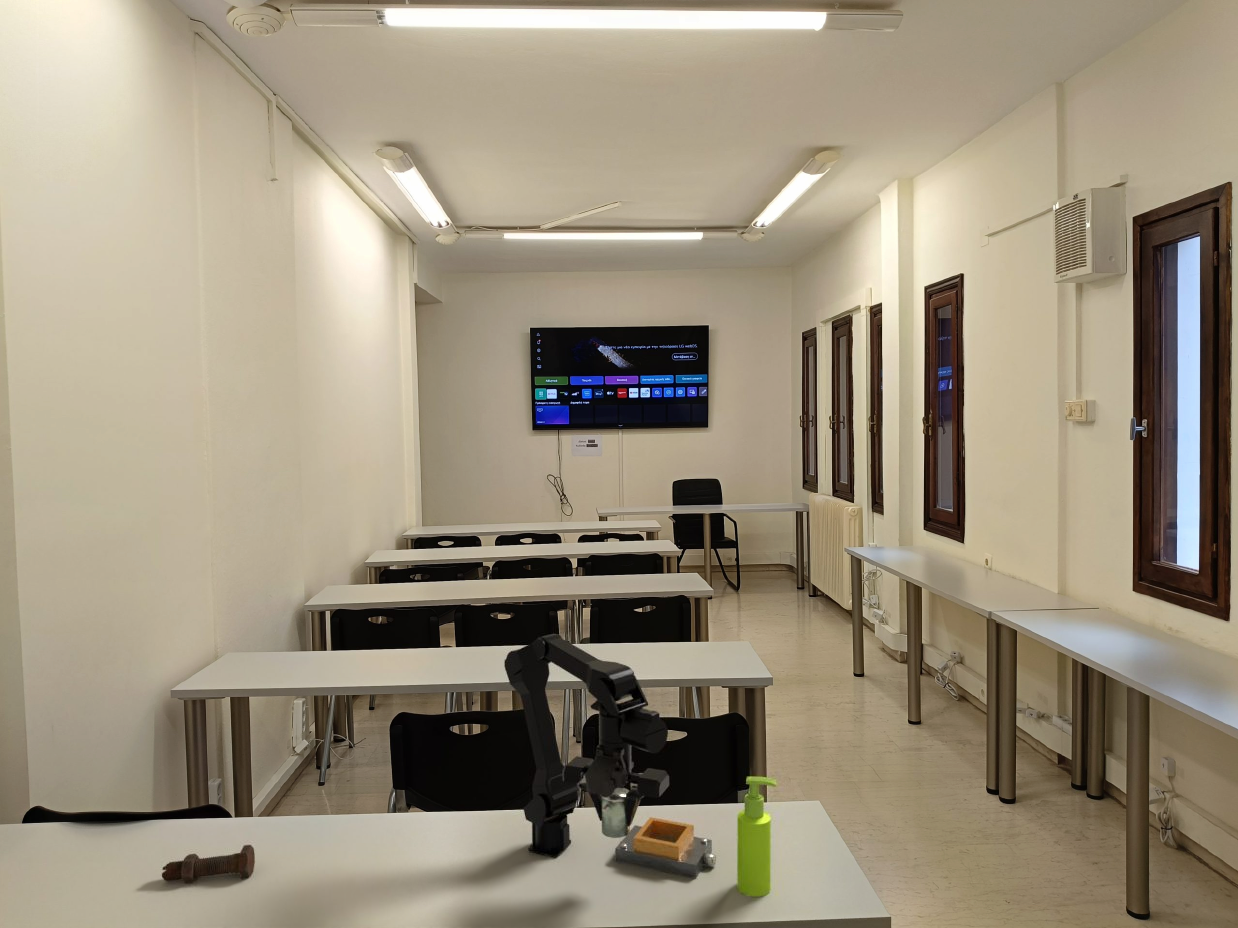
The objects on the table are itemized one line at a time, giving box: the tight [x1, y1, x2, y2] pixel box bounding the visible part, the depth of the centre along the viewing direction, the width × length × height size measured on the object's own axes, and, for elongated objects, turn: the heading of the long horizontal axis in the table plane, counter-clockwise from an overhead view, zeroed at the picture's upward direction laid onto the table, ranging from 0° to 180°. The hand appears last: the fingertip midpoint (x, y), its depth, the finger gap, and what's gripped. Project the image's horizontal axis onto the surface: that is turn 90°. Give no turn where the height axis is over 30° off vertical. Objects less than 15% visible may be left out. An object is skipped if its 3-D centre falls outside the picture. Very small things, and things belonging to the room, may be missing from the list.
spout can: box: [601, 787, 631, 839], centre depth 152 cm, size 5×8×7 cm, turn 158°
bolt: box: [161, 844, 256, 885], centre depth 156 cm, size 6×5×15 cm
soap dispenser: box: [736, 776, 778, 898], centre depth 151 cm, size 6×7×20 cm
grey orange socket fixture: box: [614, 816, 717, 879], centre depth 162 cm, size 18×10×5 cm, turn 67°
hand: (615, 822), depth 153 cm, fingers closed on spout can, 5 cm apart
